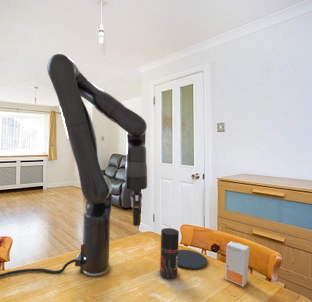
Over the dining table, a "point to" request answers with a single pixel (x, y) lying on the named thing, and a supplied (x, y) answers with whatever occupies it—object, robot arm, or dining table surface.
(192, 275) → the dining table surface
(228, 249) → the cosmetic box
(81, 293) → the dining table surface
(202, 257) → the mat
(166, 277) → the deodorant
